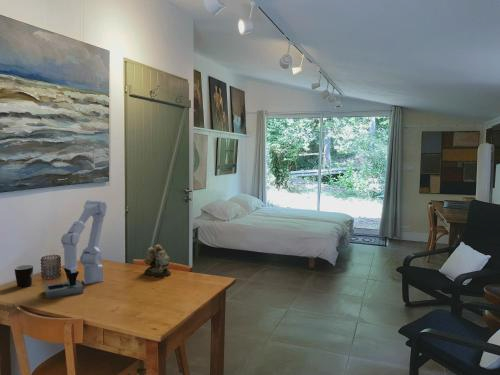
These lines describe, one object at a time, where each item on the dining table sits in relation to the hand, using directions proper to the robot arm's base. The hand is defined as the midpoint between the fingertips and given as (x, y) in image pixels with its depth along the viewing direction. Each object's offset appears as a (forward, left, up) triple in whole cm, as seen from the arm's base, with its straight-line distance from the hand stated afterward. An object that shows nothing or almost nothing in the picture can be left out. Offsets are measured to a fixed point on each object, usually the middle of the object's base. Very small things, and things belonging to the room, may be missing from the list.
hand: (71, 283), depth 196 cm
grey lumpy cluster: (-46, -6, -4) cm, 47 cm away
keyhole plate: (+4, 0, -4) cm, 5 cm away
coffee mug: (+18, -22, -4) cm, 29 cm away
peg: (0, 0, -4) cm, 4 cm away
